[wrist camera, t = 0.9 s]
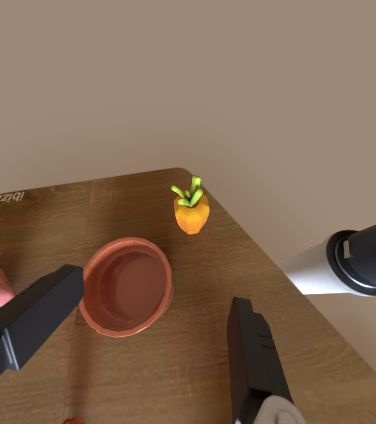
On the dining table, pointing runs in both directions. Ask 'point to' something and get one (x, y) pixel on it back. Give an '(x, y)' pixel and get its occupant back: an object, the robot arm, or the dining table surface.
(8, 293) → the cell model
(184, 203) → the carrot
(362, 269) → the robot arm
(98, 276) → the mixing bowl
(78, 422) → the meatball
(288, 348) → the dining table surface
